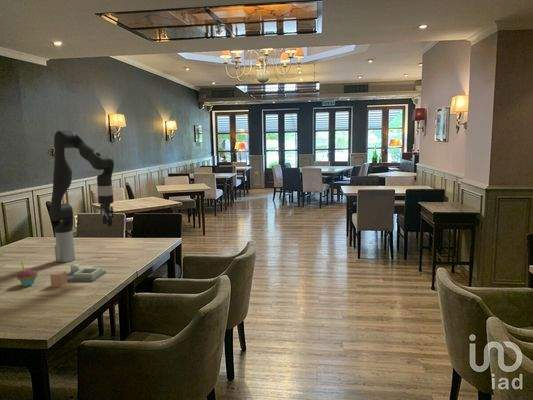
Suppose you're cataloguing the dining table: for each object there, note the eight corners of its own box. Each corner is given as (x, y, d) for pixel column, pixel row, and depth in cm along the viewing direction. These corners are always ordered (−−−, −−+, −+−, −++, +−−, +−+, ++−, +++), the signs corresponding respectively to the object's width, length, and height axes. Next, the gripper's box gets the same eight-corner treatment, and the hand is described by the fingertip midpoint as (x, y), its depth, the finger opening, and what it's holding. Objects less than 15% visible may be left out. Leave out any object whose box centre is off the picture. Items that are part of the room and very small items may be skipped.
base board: (57, 281, 195) (56, 271, 195) (72, 272, 209) (71, 263, 208) (92, 281, 194) (91, 271, 193) (106, 272, 208) (105, 263, 207)
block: (51, 286, 188) (50, 274, 187) (57, 283, 193) (56, 271, 192) (61, 286, 188) (60, 274, 187) (67, 283, 193) (66, 271, 192)
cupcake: (23, 288, 186) (21, 263, 185) (14, 285, 191) (11, 261, 189) (42, 283, 193) (39, 259, 192) (32, 280, 198) (30, 256, 196)
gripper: (94, 193, 211) (96, 224, 214) (101, 196, 200) (104, 228, 202) (108, 192, 216) (110, 222, 218) (117, 194, 205) (119, 226, 207)
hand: (107, 225), depth 210 cm, fingers open, 8 cm apart
